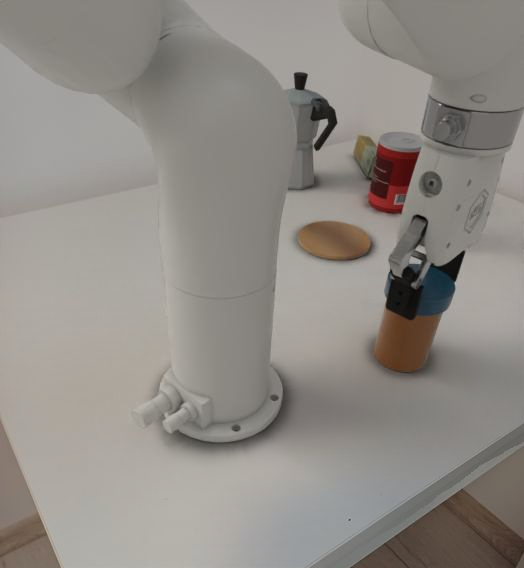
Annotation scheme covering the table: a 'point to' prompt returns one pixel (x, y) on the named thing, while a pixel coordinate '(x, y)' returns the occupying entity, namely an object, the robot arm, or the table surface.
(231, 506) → the table surface
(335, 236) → the coaster
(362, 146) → the medication box
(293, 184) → the coffee maker
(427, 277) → the jar lid
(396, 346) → the jar
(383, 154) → the canned food
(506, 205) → the table surface
